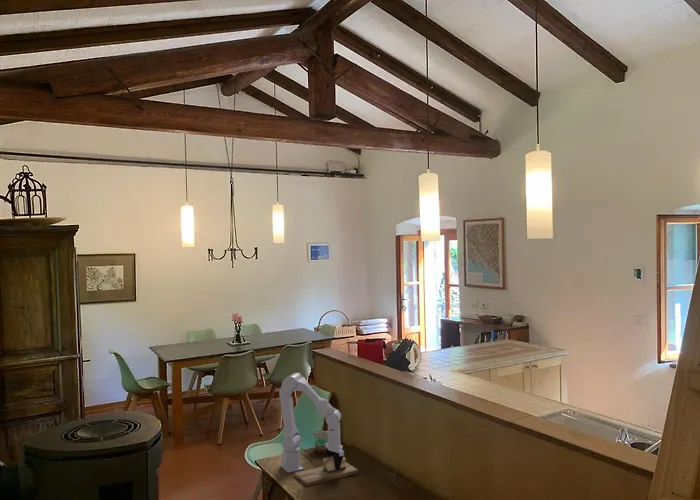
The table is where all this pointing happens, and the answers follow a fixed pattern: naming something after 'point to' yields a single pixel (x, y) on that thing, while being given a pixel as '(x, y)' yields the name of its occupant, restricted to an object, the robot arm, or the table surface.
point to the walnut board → (323, 475)
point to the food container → (321, 440)
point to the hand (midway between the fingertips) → (334, 467)
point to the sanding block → (332, 464)
